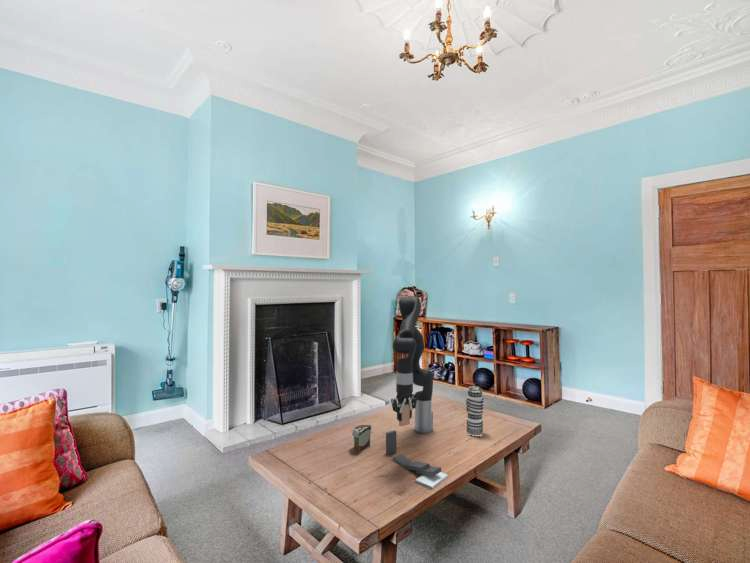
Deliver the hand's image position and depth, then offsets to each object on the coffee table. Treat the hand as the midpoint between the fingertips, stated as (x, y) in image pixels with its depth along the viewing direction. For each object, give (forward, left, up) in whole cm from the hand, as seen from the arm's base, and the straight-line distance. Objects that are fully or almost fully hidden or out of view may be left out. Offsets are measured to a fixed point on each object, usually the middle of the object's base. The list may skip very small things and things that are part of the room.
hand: (404, 419), depth 167 cm
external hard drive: (0, +18, -20) cm, 27 cm away
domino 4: (+1, +6, -18) cm, 19 cm away
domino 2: (0, 0, -2) cm, 2 cm away
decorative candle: (-51, -4, -19) cm, 55 cm away
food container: (+10, -23, -19) cm, 31 cm away
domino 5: (0, +11, -18) cm, 21 cm away
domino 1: (0, -10, -19) cm, 21 cm away
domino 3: (+1, -4, -19) cm, 19 cm away
